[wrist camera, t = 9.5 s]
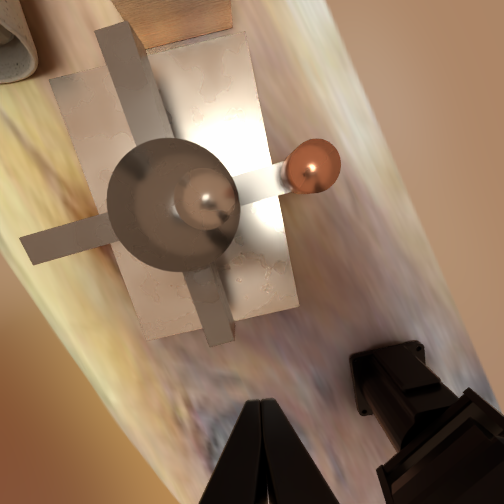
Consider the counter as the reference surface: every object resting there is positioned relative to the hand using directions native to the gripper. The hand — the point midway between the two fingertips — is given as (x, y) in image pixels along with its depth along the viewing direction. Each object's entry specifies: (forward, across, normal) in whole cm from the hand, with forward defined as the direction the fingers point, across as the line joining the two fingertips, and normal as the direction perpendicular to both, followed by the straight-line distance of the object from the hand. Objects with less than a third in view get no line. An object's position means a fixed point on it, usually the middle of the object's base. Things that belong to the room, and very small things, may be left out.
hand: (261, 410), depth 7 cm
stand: (+12, +4, -9) cm, 16 cm away
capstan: (+9, +4, -6) cm, 11 cm away
